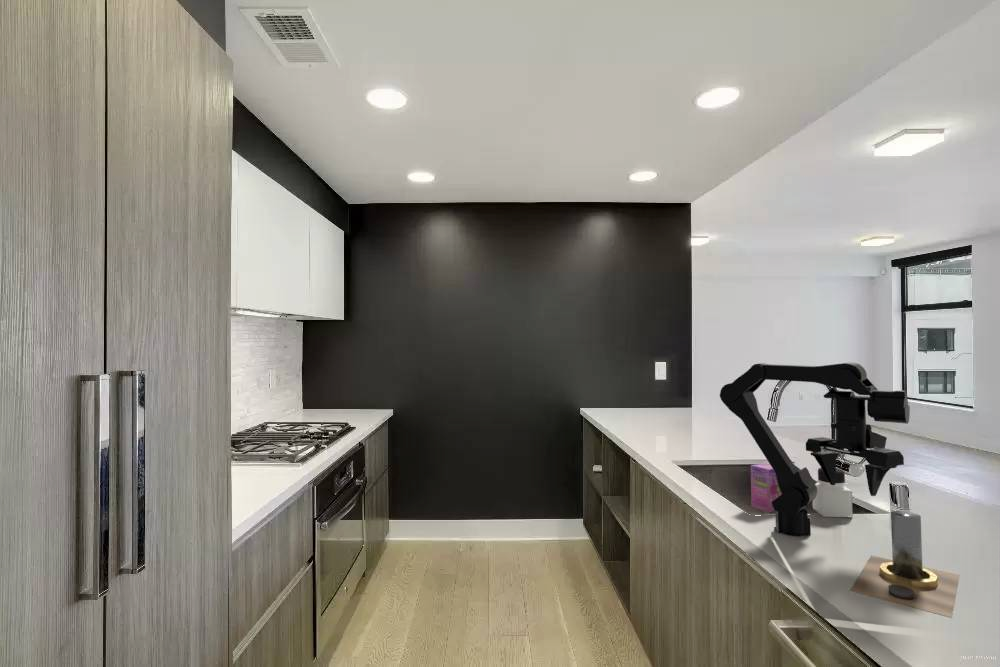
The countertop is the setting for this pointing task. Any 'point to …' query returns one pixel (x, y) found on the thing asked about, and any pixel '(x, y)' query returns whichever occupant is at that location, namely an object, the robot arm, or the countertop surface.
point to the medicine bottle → (833, 496)
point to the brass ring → (914, 583)
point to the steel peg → (906, 544)
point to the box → (763, 487)
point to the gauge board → (908, 589)
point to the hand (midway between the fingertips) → (852, 490)
